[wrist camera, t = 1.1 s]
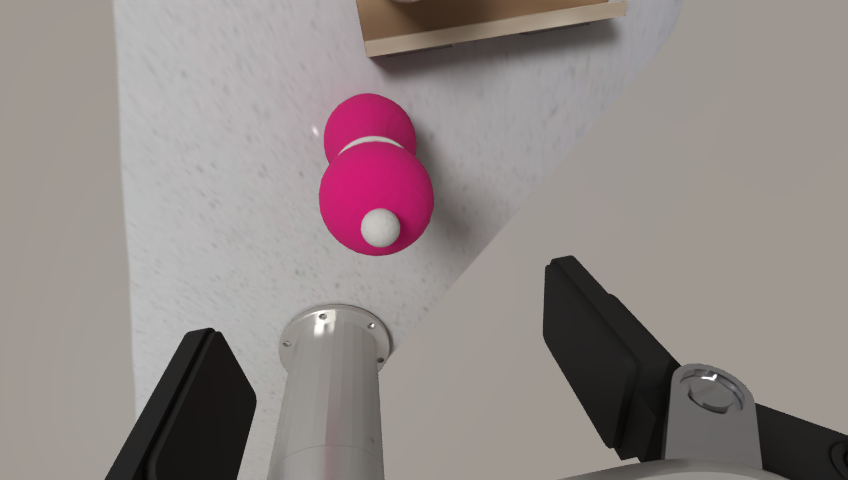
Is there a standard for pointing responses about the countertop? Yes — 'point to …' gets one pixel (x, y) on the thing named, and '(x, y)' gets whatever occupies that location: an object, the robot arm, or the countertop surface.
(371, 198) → the pepper mill
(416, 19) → the shelf
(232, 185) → the countertop surface
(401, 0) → the jar
